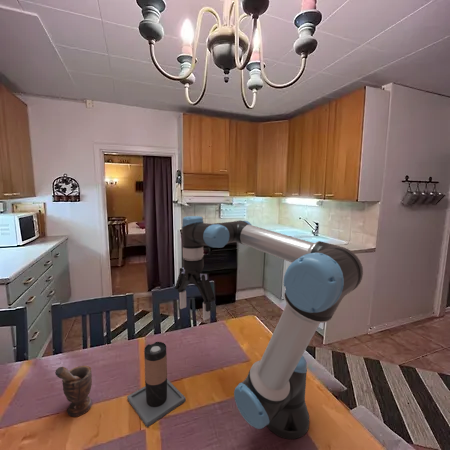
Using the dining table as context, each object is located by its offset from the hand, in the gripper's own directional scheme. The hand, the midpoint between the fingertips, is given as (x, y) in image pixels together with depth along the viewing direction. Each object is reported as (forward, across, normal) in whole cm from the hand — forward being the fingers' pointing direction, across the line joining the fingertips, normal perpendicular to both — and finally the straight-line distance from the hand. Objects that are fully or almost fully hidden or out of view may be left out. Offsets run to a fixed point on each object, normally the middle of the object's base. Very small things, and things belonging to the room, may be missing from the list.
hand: (194, 313), depth 96 cm
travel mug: (+29, +5, +14) cm, 33 cm away
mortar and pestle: (+29, +20, +36) cm, 50 cm away
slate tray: (+29, +5, +14) cm, 33 cm away
